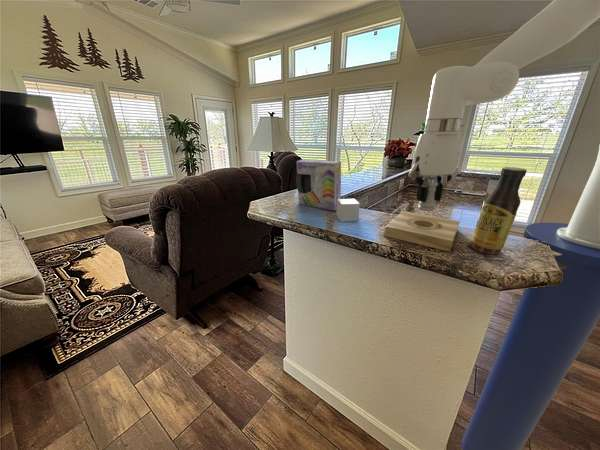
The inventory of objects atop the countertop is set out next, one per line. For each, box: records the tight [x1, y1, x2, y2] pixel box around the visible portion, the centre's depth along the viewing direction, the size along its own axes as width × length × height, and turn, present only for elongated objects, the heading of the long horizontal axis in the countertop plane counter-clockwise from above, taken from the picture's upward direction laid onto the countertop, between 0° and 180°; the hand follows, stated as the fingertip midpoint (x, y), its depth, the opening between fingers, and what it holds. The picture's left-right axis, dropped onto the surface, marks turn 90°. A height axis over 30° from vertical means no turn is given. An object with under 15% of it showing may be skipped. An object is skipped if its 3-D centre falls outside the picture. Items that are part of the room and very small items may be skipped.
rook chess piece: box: [417, 178, 438, 212], centre depth 63 cm, size 4×4×8 cm
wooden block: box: [384, 210, 461, 253], centre depth 67 cm, size 16×16×3 cm
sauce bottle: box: [470, 166, 528, 255], centre depth 54 cm, size 7×6×20 cm
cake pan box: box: [295, 158, 342, 212], centre depth 90 cm, size 19×5×18 cm, turn 48°
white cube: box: [335, 197, 361, 223], centre depth 79 cm, size 6×6×6 cm
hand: (428, 199), depth 64 cm, fingers closed on rook chess piece, 3 cm apart
